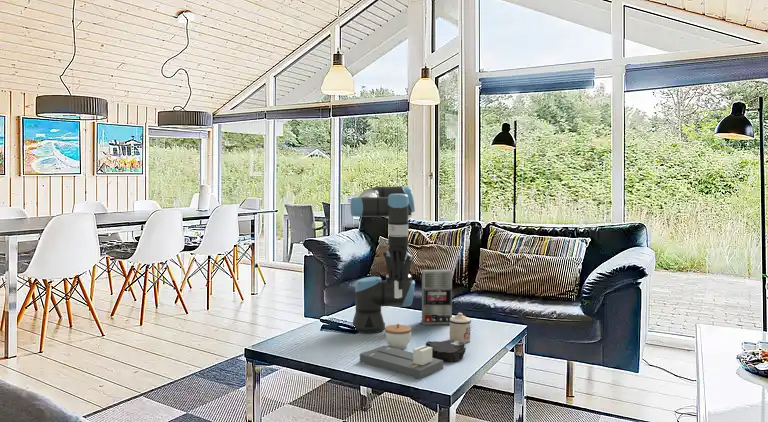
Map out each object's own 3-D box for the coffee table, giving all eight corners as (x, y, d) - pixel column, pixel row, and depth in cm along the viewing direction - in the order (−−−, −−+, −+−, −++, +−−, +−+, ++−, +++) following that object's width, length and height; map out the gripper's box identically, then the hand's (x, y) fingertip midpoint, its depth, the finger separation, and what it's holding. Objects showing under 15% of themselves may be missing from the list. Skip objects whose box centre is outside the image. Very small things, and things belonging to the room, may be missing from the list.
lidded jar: (414, 344, 238) (414, 321, 237) (406, 351, 228) (406, 328, 227) (389, 341, 242) (389, 319, 241) (381, 349, 231) (381, 326, 231)
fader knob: (413, 363, 204) (413, 348, 204) (423, 358, 209) (423, 344, 209) (422, 365, 202) (422, 351, 202) (432, 361, 206) (432, 347, 206)
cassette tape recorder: (422, 325, 268) (422, 272, 266) (421, 322, 274) (421, 269, 272) (452, 325, 268) (452, 271, 267) (450, 321, 274) (450, 269, 273)
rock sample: (465, 364, 213) (465, 351, 213) (422, 362, 216) (422, 349, 216) (466, 350, 231) (466, 338, 230) (427, 348, 233) (427, 336, 233)
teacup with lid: (468, 344, 237) (468, 316, 237) (446, 342, 241) (446, 314, 240) (474, 336, 249) (474, 310, 248) (454, 334, 252) (454, 308, 251)
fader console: (359, 361, 216) (359, 353, 216) (384, 353, 227) (384, 345, 226) (419, 379, 198) (419, 370, 198) (443, 368, 208) (443, 360, 208)
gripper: (378, 234, 216) (378, 296, 218) (405, 238, 207) (405, 302, 210) (391, 232, 221) (391, 293, 224) (418, 235, 213) (418, 298, 215)
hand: (398, 297), depth 217 cm, fingers closed
